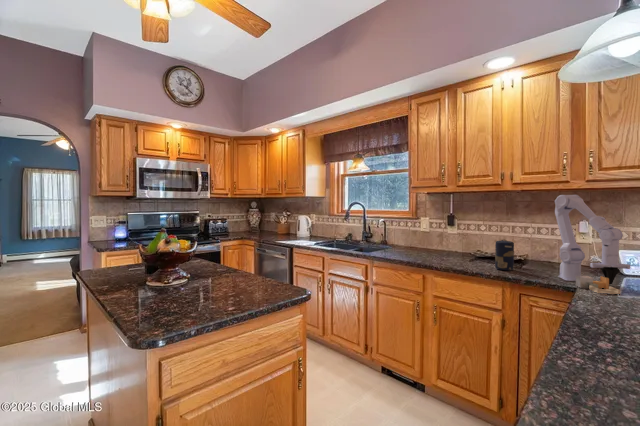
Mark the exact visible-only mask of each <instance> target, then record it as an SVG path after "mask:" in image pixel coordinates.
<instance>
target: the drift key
mask: <svg viewBox="0 0 640 426" xmlns="http://www.w3.org/2000/svg"><path fill="white" fill-rule="evenodd" d="M599 279H600V280H593V283H594V284H598V289H602V288H604V289H609V286H610V284H609V278H606V277H605V276H604V275H603V276H602V275H600V276H599Z"/></svg>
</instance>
